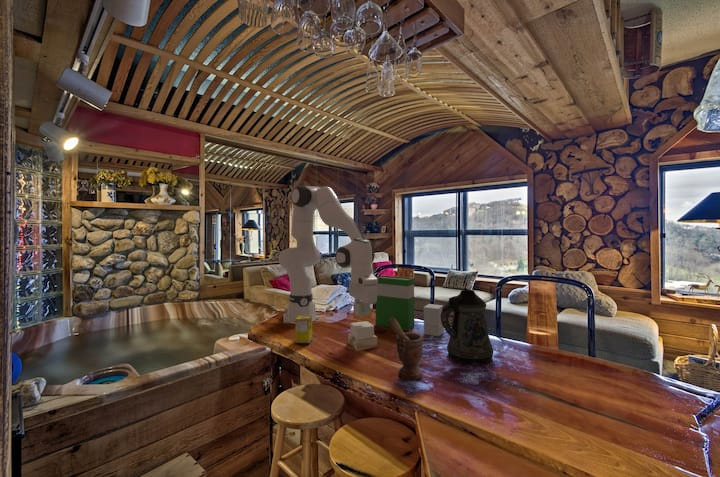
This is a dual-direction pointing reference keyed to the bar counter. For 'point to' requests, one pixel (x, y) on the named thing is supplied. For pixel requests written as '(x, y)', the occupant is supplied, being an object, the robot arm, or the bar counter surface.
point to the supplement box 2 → (433, 320)
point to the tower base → (362, 342)
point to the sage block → (360, 309)
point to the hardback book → (395, 301)
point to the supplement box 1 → (303, 329)
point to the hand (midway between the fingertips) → (362, 310)
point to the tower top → (362, 330)
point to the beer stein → (467, 329)
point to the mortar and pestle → (408, 351)
